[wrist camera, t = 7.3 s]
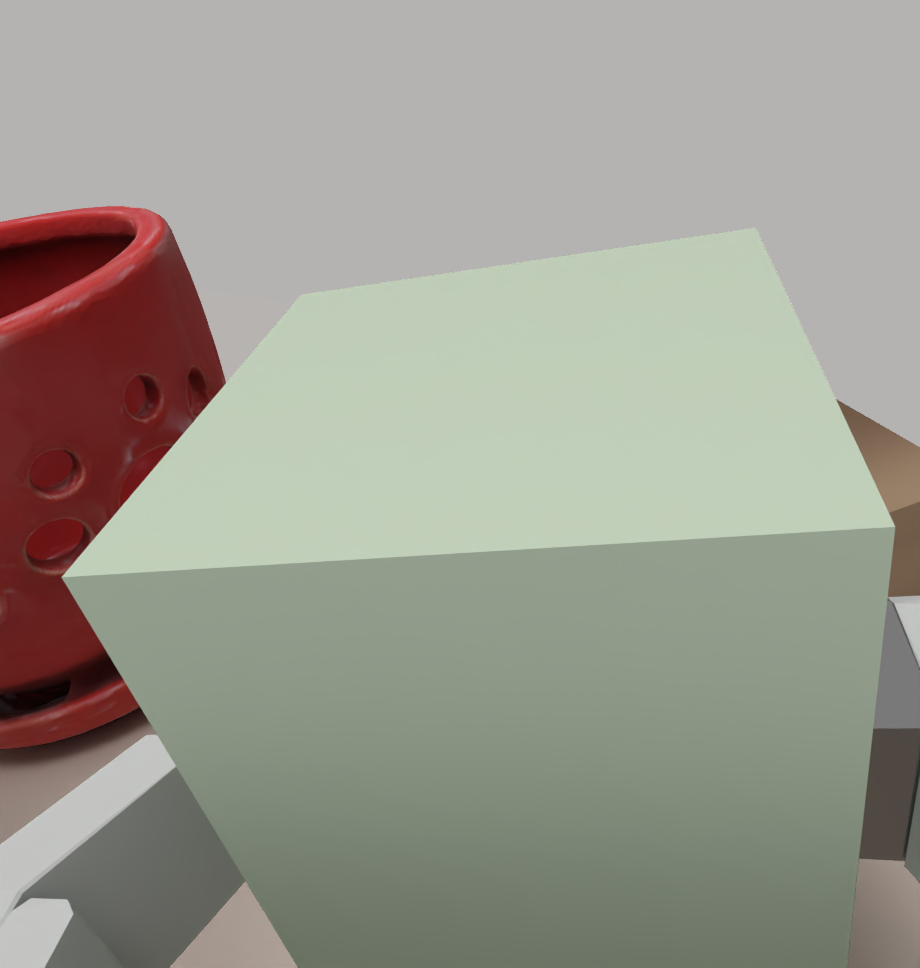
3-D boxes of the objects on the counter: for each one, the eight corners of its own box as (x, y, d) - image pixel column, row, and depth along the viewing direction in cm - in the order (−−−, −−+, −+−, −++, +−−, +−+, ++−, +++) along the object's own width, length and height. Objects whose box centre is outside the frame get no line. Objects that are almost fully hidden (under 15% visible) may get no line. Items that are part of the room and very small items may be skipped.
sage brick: (819, 1206, 8) (894, 527, 4) (412, 1156, 10) (61, 576, 5) (758, 821, 12) (755, 227, 7) (467, 815, 13) (301, 294, 8)
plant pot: (-191, 748, 25) (-524, 402, 18) (123, 500, 34) (-27, 215, 28) (92, 882, 18) (-266, 428, 12) (381, 534, 28) (264, 176, 21)
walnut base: (529, 622, 22) (488, 436, 19) (755, 540, 23) (751, 350, 20) (644, 831, 16) (611, 613, 13) (942, 711, 17) (977, 480, 14)
